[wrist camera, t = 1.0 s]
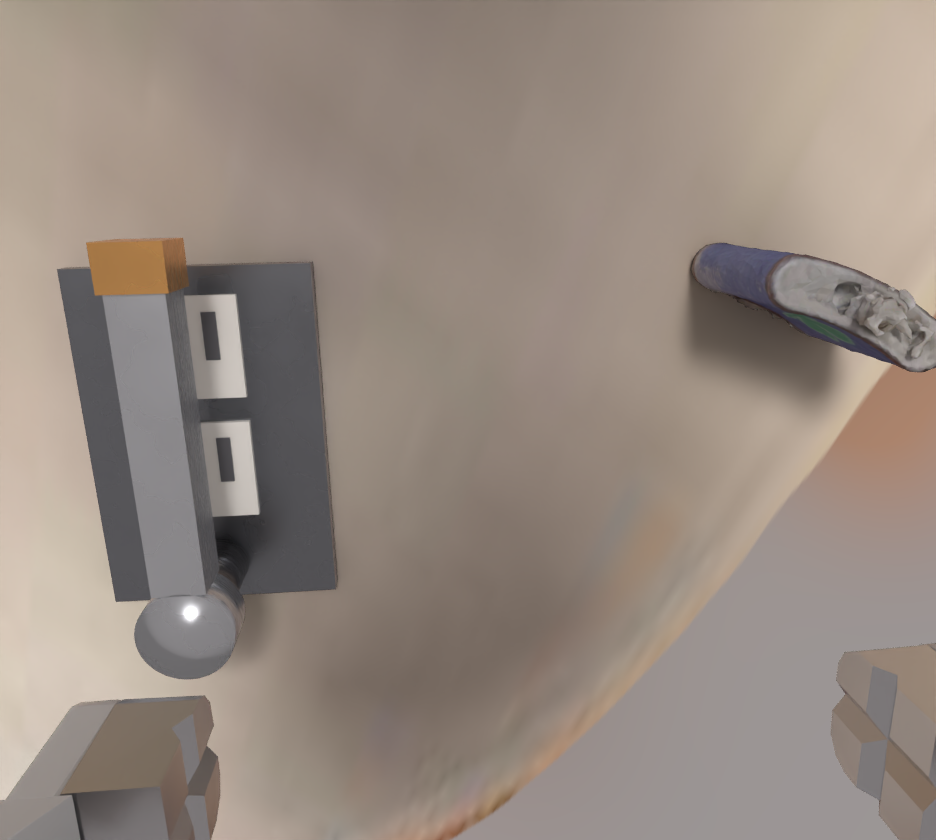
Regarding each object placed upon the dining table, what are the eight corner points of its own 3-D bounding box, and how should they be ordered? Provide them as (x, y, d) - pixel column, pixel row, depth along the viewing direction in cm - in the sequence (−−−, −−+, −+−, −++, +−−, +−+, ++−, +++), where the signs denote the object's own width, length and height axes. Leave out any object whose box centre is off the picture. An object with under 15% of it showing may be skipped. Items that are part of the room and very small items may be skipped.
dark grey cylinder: (193, 541, 39) (167, 582, 35) (246, 538, 40) (226, 579, 35) (200, 587, 40) (175, 632, 36) (251, 584, 40) (233, 629, 36)
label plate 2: (159, 423, 37) (156, 425, 37) (250, 420, 38) (248, 422, 37) (172, 516, 39) (170, 519, 38) (260, 512, 39) (258, 515, 39)
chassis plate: (66, 267, 36) (57, 269, 35) (312, 261, 37) (310, 263, 36) (122, 592, 41) (115, 601, 40) (337, 580, 42) (335, 589, 41)
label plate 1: (140, 296, 35) (137, 297, 35) (236, 294, 36) (234, 294, 35) (155, 399, 37) (153, 401, 37) (247, 395, 37) (246, 397, 37)
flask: (681, 277, 38) (782, 303, 28) (707, 225, 38) (821, 232, 28) (822, 346, 40) (966, 393, 30) (850, 297, 40) (1007, 328, 29)
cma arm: (94, 239, 30) (64, 243, 28) (202, 237, 31) (183, 240, 28) (160, 649, 36) (140, 685, 33) (250, 643, 36) (238, 678, 34)
